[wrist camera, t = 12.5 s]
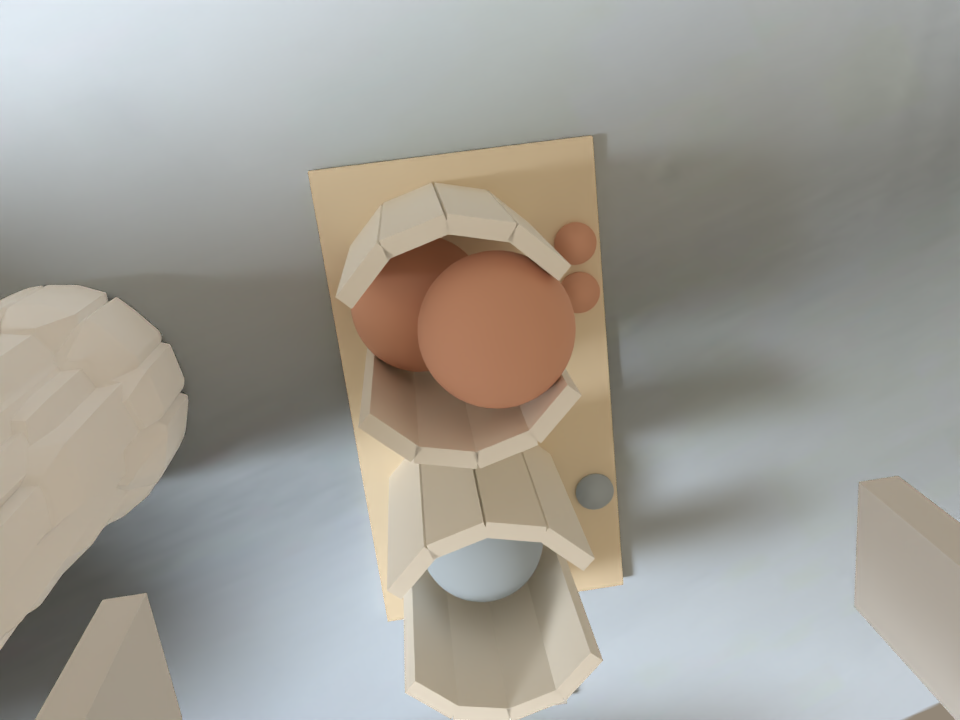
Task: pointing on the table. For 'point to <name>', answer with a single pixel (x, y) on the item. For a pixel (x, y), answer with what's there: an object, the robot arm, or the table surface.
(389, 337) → the ball terracotta in tube
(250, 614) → the table surface
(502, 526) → the tube rack
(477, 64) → the table surface
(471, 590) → the ball slate in tube
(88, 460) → the decorative vase
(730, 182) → the table surface
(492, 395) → the ball terracotta loose
